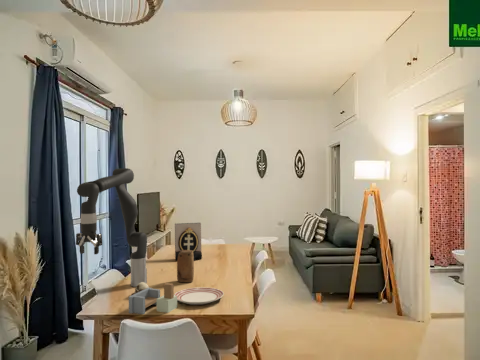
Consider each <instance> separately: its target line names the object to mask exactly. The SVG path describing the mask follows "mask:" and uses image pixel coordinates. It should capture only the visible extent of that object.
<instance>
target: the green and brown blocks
mask: <svg viewBox="0 0 480 360" xmlns="http://www.w3.org/2000/svg"><path fill="white" fill-rule="evenodd" d="M174 294H175V291H174V283H169V282H165V283H164V284H163V295H162V296H160V298H158V299H156V302H157V305H156V312H161V313H167V314H169V313H170V312H173V311H174V310H176V309H177V308H178V300H177V296H174Z"/></svg>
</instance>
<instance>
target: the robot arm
mask: <svg viewBox="0 0 480 360" xmlns="http://www.w3.org/2000/svg"><path fill="white" fill-rule="evenodd" d="M134 179H135V174H134V171H133V170H132V169H131V168H124V167H123V168H115V169H114V170H112V175H108V176H104V177H101V178H97V179H94V180H92V181H87V182H82V183H80V184H79V185H78V186H77V188H76V192H77V195H78V196H80V197H82V198H87V200H86V201H83V202H81V204H80V232H77V233H76V234H75V245H76V246H78V247H79V254H80V255H83V254H85V244H86V243H91V244H92V245H93V246H94V247H93V251H94V252H93V254H94V255H98V254H99V253H100V246H103V236H102V235H103V234H102V233H97V230H98V229H97V227H98V226H97V225H98V223H97V221H98V220H97V202H98V199H99V196H100V195H99V194H100V193H103V192H104V191H108V190H110V189H111V188H114V187H115V190H116V193H117V196H118V200H119V203H120V208H121V213H122V214H121V215H122V216H123V221H124V227H125V234H126V241H127V244H128V246H129V247H134V248H136V251H134V252H132V253H130V286H131V287H133V288H136V287H137V285H138V284H139V283H141V282H144V283H146V284H148V277H147V276H148V275H147V274H148V272H147V271H148V270H147V262H146V261H147V260H146V257H147V255H146V254H147V248H148V247H147V246H148V237H147V234H146V233H145V232H143V231H142V232H140V231H136V229H135V228H136V227H135V223H136V220H137V217H138V214H139V210H138V205H137V202H136V200H135V198H134V197H133V196H132V195H131V193H129V192H128V190H127V188H126V185H127V184H131V183H132V182H133V181H134Z"/></svg>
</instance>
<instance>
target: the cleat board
mask: <svg viewBox="0 0 480 360" xmlns="http://www.w3.org/2000/svg"><path fill="white" fill-rule="evenodd" d="M160 297H161V289H157V288H153V287H149V288H147V289H144V290H142V291H140V292H138V293H136V294H134V295H131V294H130V296H128V314H140V315H144V314H146V309H147V308H149V307H150V306H151V305H152V306H157V302H156V299H158V298H160Z"/></svg>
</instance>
